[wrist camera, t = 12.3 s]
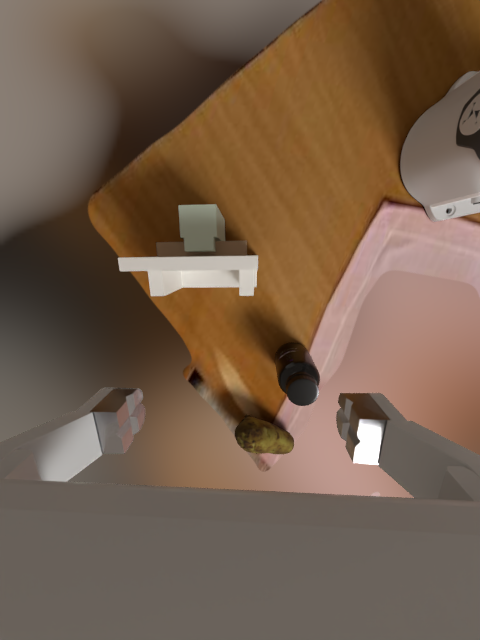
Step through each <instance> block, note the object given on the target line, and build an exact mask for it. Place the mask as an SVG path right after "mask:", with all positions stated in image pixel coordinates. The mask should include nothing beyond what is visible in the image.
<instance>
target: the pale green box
mask: <svg viewBox="0 0 480 640" xmlns="http://www.w3.org/2000/svg"><path fill="white" fill-rule="evenodd" d="M178 208H179V224H180V237H181V238H183V239H184V248H185V251H186V252H216V250H215V241H225V219H224V218H223V216H222V214H221V212H220V210H219V209H218V207H217V205H216V204H207V205H178Z"/></svg>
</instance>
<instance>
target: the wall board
mask: <svg viewBox="0 0 480 640" xmlns="http://www.w3.org/2000/svg"><path fill="white" fill-rule="evenodd" d="M156 249H157V257H130V258H118V262H119V268H120V271H148V277H149V285H150V293H151V296H165V295H167V294H170V293H172V292H174V291H176V290H178V289H180V288H182V287H239V290H240V296H254V287H257V270H258V255H247V241H215V250H216V252H186V251H185V248H184V242H156Z"/></svg>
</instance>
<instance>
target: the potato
mask: <svg viewBox="0 0 480 640" xmlns="http://www.w3.org/2000/svg"><path fill="white" fill-rule="evenodd" d="M235 438H236V440H237V443H238V444H239V445H240V446H241V448H243V449H244V450H245V451H247V452H252V453H256V454H257V453H272V454H286V453H289V452H291V451H292V449H293V447H294V439H293V437H292V436H291V435H290V433H288V432H287V431H285V430H283V429H282V428H279V427H278V426H276V425H274V424H272V423H270V422H267V421H263V420H260V419H257V418H254V417H251V416H250V415H246V416H245V418H244V419H243V420H242V421H241V422H240V423H239V425H238V426H237V427H236V429H235Z"/></svg>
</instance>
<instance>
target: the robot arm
mask: <svg viewBox="0 0 480 640" xmlns="http://www.w3.org/2000/svg"><path fill="white" fill-rule="evenodd" d="M400 169H401V176H402V180H403V183H404V185H405V187H406V189H407V191H408V192H409V193H410V194H411V196H412V197H414V198H415V199H416V200H417V201H419V202H420V203H421V204H422V205H423V206H424V208H425V210H426V212H427V215H428V217H429V218H430V219H431V220H432V221H434V222H438V221H442V220H447V219H452V218H456V217H461V216H466V215H470V214H475V213H480V71H479V72H475V71H470V72H468V73H466V74H464V75H463V76H462V77H460V78H459V79H458V80H457V81H456V82H455V83H454V85H453V86H452V87H451V88H450V90H449V91H448V93H447V94H446V95H445V97H444V98H442V99H441V100H440V101H439V102H437V103H436V104H435V105H433V106H432V107H430V108H429V109H428V110H427V111H426V112H424V113H423V114H422V115H421V116H420V118H419V119H418V120H417V121H416V122H415V124H414V125H413V127H412V128H411V130H410V132H409V134H408V135H407V138H406V140H405V142H404V145H403V149H402V153H401V160H400ZM447 209H448V213H446V210H447ZM142 399H143V395H142V391H141V390H140V389H133V388H102V389H101V390H100V391H99V392H97V393H96V394H95V395H94V396H93V397H92V398H91V399H89V400H88V401H87V402H86V403H85V404H84V405H82V406H81V407H80V408H79V409H78V410H77V411H76V412H70V413H67V414H65V415H63V416H60V417H58V418H56V419H53V420H51V421H49V422H46V423H44V424H42V425H40V426H37V427H35V428H32V429H30V430H28V431H25V432H23V433H21V434H18V435H17V436H14V437H11V438H9V439H7V440H5V441H2V442H0V640H480V455H478V454H476V453H474V452H472V451H470V450H468V449H466V448H464V447H462V446H460V445H458V444H456V443H454V442H452V441H450V440H448V439H446V438H444V437H442V436H441V435H439V434H436V433H435V432H433V431H431V430H429V429H427V428H425V427H423V426H421V425H419V424H417V423H415V422H413V421H407V420H406V419H405V418H404V417H403V416H402V414H400V412H399V411H398V410H397V409H396V408H395V407H394V406H393V405H392V404H391V403H390V402H389V400H388V399H387V398H386V397H385V396H384V395H383V394H381V393H340V395H339V400H338V403H339V405H340V407H341V408H340V409H339V410H338V412H337V418H336V419H337V420H336V421H337V428H338V432H339V434H340V436H341V438H342V439H344V440H345V441H346V449H347V451H348V453H349V455H350V457H351V459H352V462H353V463H364V464H378V466H379V467H380V468H382V469H383V470H384V471H385V472H386V473H387V474H388V475H389V476H391V477H392V478H393V479H394V480H395V481H396V482H397V483H398V484H400V485H401V486H402V487H403V488H404V489H405V490H406V491H408V492H409V493H410V494H411V495H412V496H413V497H414V498H399V497H376V496H355V495H334V494H314V493H294V492H275V491H254V490H231V489H210V488H189V487H167V486H147V485H126V484H105V483H84V482H67V481H68V480H69V479H71V478H72V477H73V476H75V475H76V474H77V473H79V472H80V471H81V470H83V469H84V468H85V467H87V466H88V465H89V464H91V463H92V462H93V461H95V460H96V459H97V458H98V457H100V456H101V455H102V454H125V452H126V451H127V449H128V448H129V446H130V445H131V443H132V441H133V440H134V439H133V435H134V434H135V433H137V432H138V431H140V429H141V427H142V426H143V422H144V419H145V407H144V406H143V405H142V404H141V403H140V402H141V400H142Z"/></svg>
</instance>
